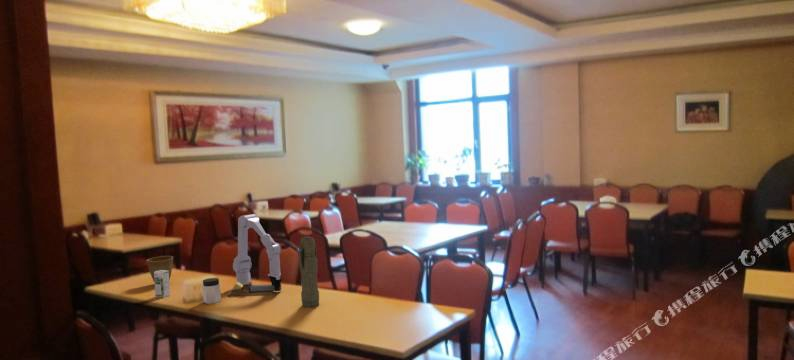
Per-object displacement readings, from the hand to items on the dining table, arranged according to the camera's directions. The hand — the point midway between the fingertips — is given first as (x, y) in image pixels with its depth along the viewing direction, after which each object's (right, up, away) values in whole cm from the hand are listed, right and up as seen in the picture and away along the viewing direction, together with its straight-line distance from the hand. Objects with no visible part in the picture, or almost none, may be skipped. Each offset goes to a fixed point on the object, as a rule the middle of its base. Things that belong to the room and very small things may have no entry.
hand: (276, 289), depth 326 cm
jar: (-31, -4, -14) cm, 34 cm away
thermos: (+23, -3, -28) cm, 37 cm away
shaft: (-7, -1, 0) cm, 7 cm away
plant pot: (-76, -3, +31) cm, 82 cm away
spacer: (-20, 0, 0) cm, 20 cm away
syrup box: (-64, -4, +2) cm, 64 cm away
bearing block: (-14, -2, 0) cm, 14 cm away
